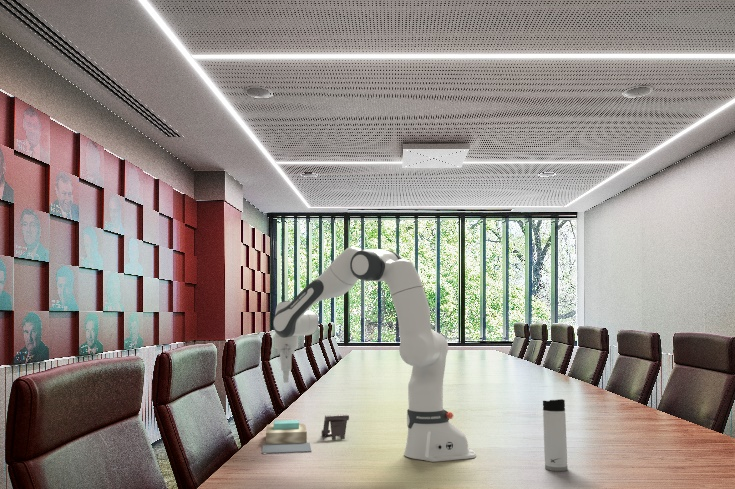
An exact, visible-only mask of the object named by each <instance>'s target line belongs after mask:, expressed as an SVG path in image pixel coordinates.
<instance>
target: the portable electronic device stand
mask: <svg viewBox="0 0 735 489" xmlns="http://www.w3.org/2000/svg"><path fill="white" fill-rule="evenodd" d="M349 415H350V414H348V413H347V414H346V413H344V414H329V415H324V421H323V428H322V430H321V437H322V438H323V437H324V438H325V437H331V440H332V441H335V440H337V437H339V438H340V440H345V436H346V431H347V423H348V421H349V420H350V416H349ZM329 428H330V429H329Z"/></svg>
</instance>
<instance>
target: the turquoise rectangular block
mask: <svg viewBox="0 0 735 489" xmlns="http://www.w3.org/2000/svg"><path fill="white" fill-rule="evenodd" d="M299 424H300V421H299V419H291V420H273V425H274V430H277V429H299Z"/></svg>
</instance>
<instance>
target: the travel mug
mask: <svg viewBox="0 0 735 489" xmlns="http://www.w3.org/2000/svg"><path fill="white" fill-rule="evenodd" d="M565 402H566V400H565V399H563V398H560V399H559V398H558V399H550V400H542V418H543V420H542V422H543V423H542V424H543V446H544V448H543V449H544V468H545V469H546V470H547V471H550V472H566V471H567V470H568V469H569V468H568V447H567V446H568V444H567V424H566V423H567V421H566V418H567V417H566V408H565V407H566V405H565V404H566V403H565Z"/></svg>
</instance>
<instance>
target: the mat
mask: <svg viewBox="0 0 735 489" xmlns="http://www.w3.org/2000/svg"><path fill="white" fill-rule="evenodd" d="M293 452H301V453H312V447H311V442H307V443H284V444H266V443H263V444H262V449H261V454H262V453H275V454H292V453H293ZM293 454H294V453H293Z"/></svg>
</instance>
